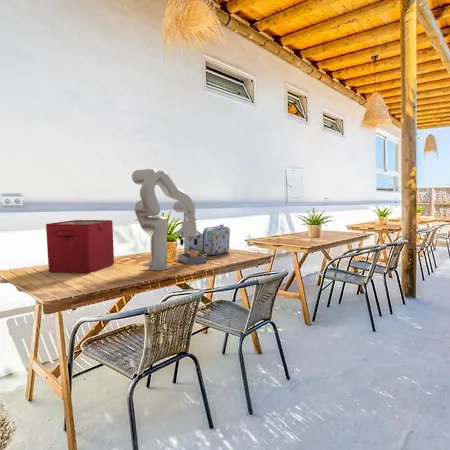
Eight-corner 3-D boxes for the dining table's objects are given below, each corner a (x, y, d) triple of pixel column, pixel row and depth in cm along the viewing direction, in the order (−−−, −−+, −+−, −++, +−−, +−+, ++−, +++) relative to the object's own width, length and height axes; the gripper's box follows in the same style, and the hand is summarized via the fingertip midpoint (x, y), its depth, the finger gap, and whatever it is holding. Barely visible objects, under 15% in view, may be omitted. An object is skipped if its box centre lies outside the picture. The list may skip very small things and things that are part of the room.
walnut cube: (185, 259, 228) (185, 252, 228) (192, 258, 230) (192, 251, 230) (188, 260, 224) (187, 253, 223) (195, 259, 226) (194, 252, 226)
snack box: (189, 255, 247) (189, 235, 246) (184, 254, 251) (183, 234, 249) (207, 251, 264) (207, 232, 263) (202, 251, 268) (202, 232, 266)
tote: (186, 264, 213) (186, 258, 213) (178, 259, 229) (178, 254, 229) (206, 262, 219) (206, 256, 219) (196, 258, 235) (196, 252, 235)
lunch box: (220, 250, 268) (220, 223, 267) (231, 251, 263) (231, 223, 261) (200, 255, 245) (200, 226, 243) (212, 257, 240) (212, 226, 238)
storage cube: (87, 275, 186) (85, 223, 184) (44, 273, 191) (42, 223, 189) (117, 263, 217) (115, 219, 215) (79, 262, 223) (78, 219, 220)
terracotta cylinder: (190, 262, 218) (190, 251, 217) (189, 260, 223) (189, 250, 222) (198, 261, 219) (198, 251, 219) (196, 260, 224) (196, 249, 223)
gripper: (199, 220, 232) (198, 244, 233) (175, 219, 225) (174, 245, 225) (203, 220, 226) (202, 245, 226) (178, 220, 218) (178, 246, 219)
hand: (188, 245), depth 226 cm, fingers open, 9 cm apart
